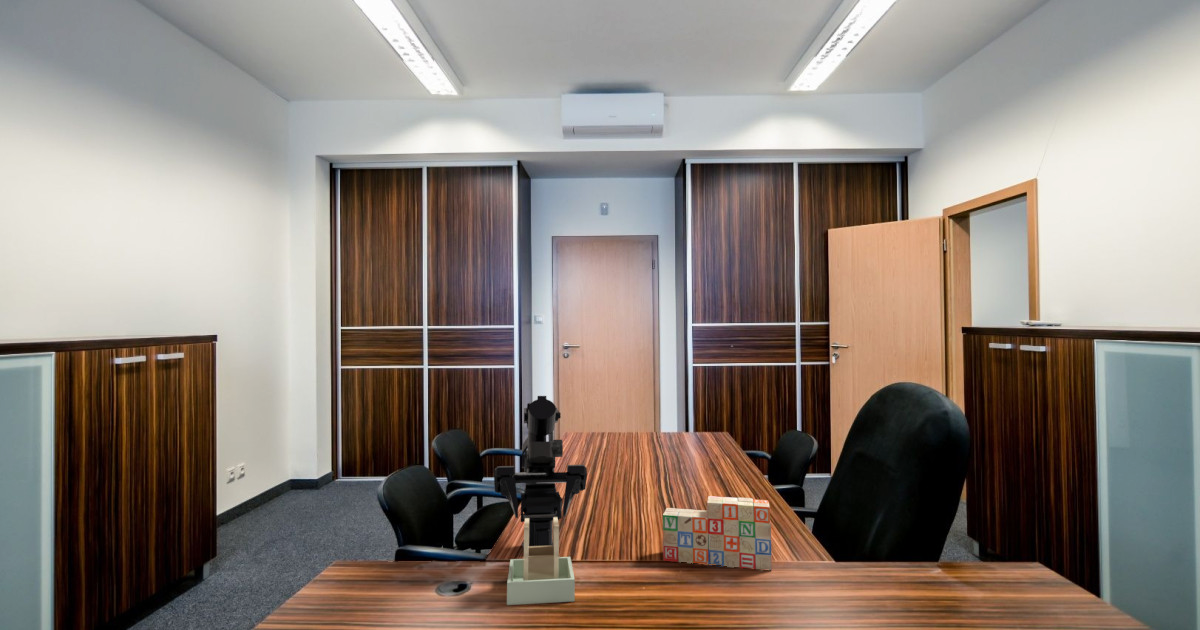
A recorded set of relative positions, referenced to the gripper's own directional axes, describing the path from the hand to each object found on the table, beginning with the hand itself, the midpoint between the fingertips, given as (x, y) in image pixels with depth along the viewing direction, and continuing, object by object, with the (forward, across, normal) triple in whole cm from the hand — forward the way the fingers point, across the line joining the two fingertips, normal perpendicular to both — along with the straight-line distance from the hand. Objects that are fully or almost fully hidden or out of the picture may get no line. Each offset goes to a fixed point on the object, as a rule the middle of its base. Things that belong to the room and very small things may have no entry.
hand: (540, 516), depth 100 cm
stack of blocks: (+6, +36, +9) cm, 38 cm away
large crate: (+13, 0, +2) cm, 13 cm away
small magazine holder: (+12, 0, +2) cm, 13 cm away
